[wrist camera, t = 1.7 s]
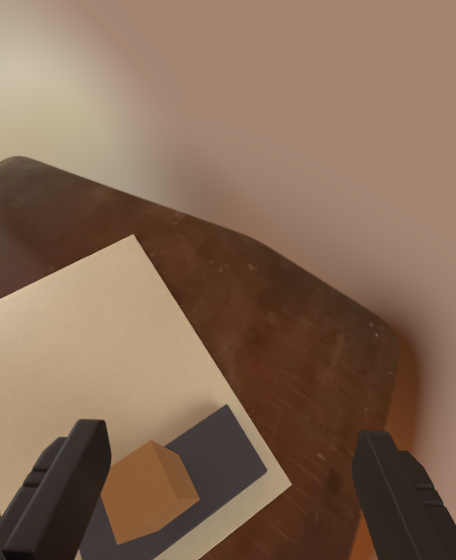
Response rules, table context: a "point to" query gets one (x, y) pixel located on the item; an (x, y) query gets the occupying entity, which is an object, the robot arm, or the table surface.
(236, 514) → the board
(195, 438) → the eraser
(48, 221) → the table surface
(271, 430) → the table surface
